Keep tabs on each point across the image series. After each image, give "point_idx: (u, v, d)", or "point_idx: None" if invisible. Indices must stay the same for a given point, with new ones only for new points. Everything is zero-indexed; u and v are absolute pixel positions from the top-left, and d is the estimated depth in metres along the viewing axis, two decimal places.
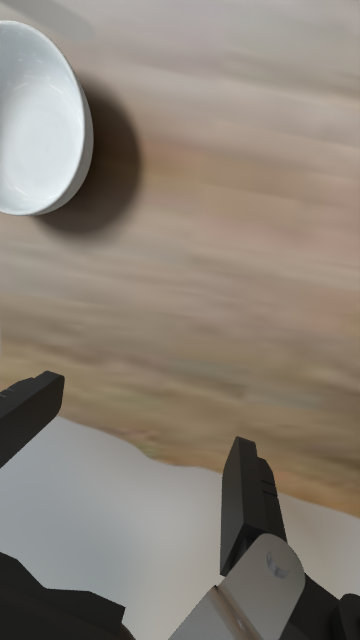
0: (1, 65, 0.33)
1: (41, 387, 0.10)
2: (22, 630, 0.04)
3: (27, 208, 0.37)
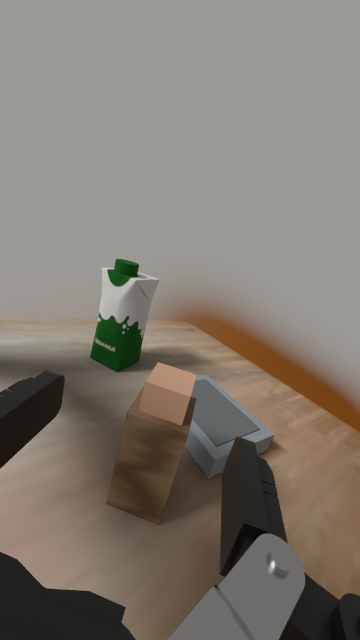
0: None
1: (41, 387, 0.10)
2: (22, 630, 0.04)
3: None
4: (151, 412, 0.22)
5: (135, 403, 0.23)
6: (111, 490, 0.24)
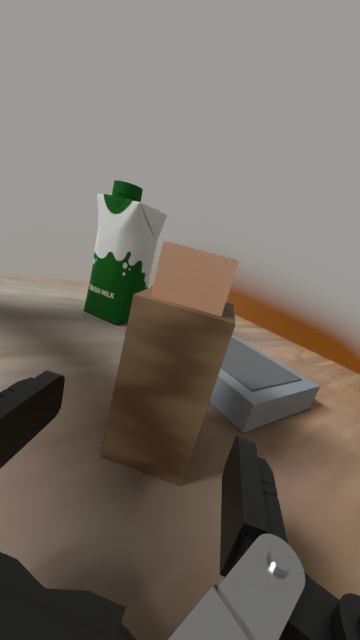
0: None
1: (41, 387, 0.10)
2: (22, 630, 0.04)
3: None
4: (172, 297, 0.14)
5: (145, 291, 0.15)
6: (108, 433, 0.16)
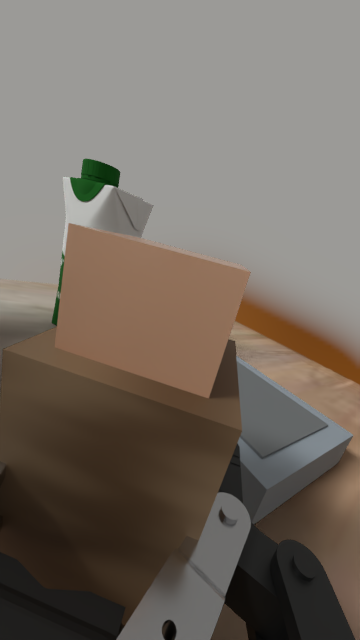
0: None
1: None
2: (22, 630, 0.04)
3: None
4: (98, 351, 0.06)
5: (53, 331, 0.07)
6: None
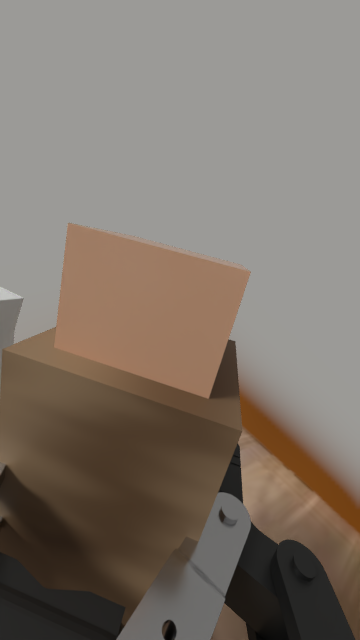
0: None
1: None
2: (22, 630, 0.04)
3: None
4: (98, 351, 0.06)
5: (53, 331, 0.07)
6: None
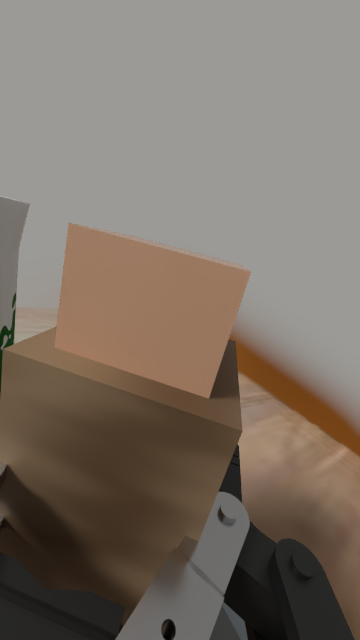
0: None
1: None
2: (22, 630, 0.04)
3: None
4: (98, 351, 0.06)
5: (53, 331, 0.07)
6: None
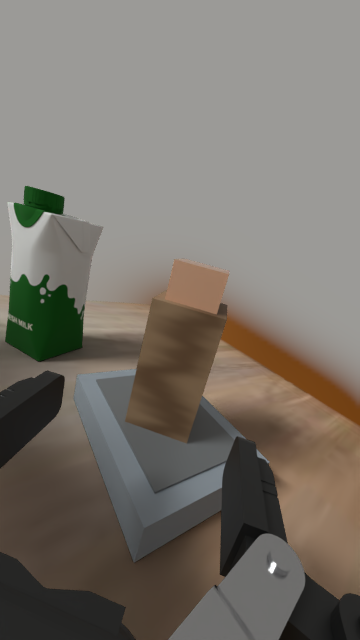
0: None
1: (41, 387, 0.10)
2: (22, 630, 0.04)
3: None
4: (180, 300, 0.18)
5: (159, 295, 0.20)
6: (131, 403, 0.21)
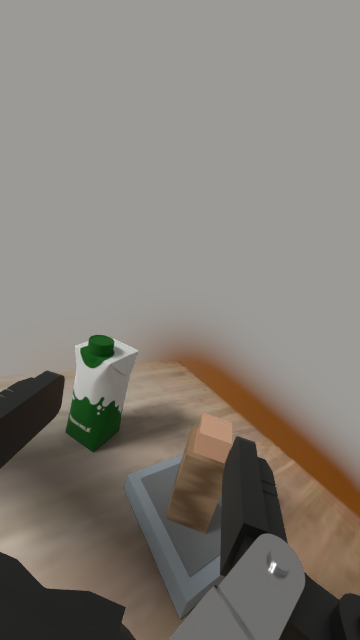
0: None
1: (41, 387, 0.10)
2: (22, 630, 0.04)
3: None
4: (202, 453, 0.31)
5: (189, 445, 0.32)
6: (170, 508, 0.33)
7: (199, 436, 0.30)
